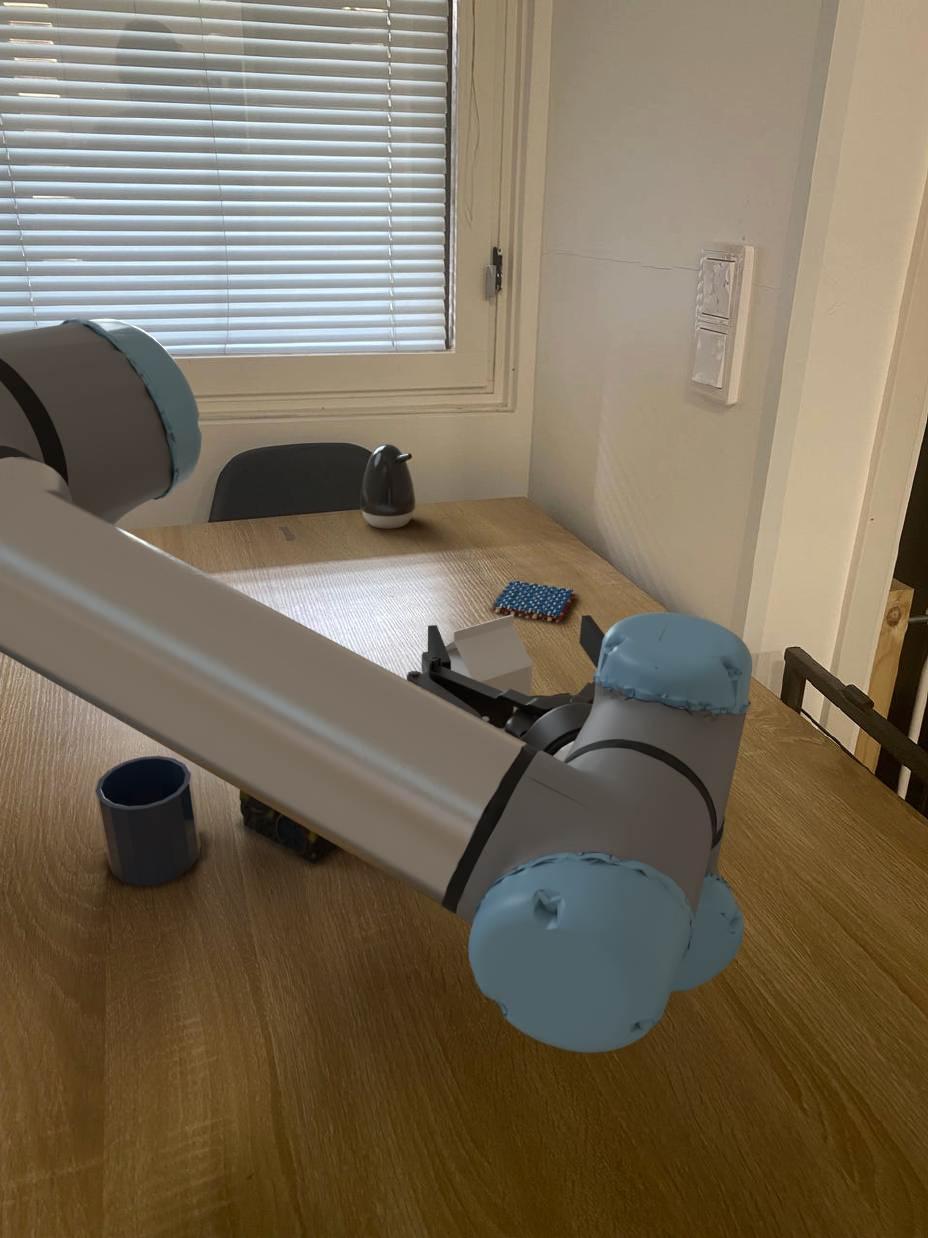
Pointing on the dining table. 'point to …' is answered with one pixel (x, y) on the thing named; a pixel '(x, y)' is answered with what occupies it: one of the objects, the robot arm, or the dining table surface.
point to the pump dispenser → (387, 489)
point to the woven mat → (534, 601)
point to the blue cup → (149, 819)
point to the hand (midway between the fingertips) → (509, 633)
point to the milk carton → (492, 655)
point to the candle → (283, 830)
